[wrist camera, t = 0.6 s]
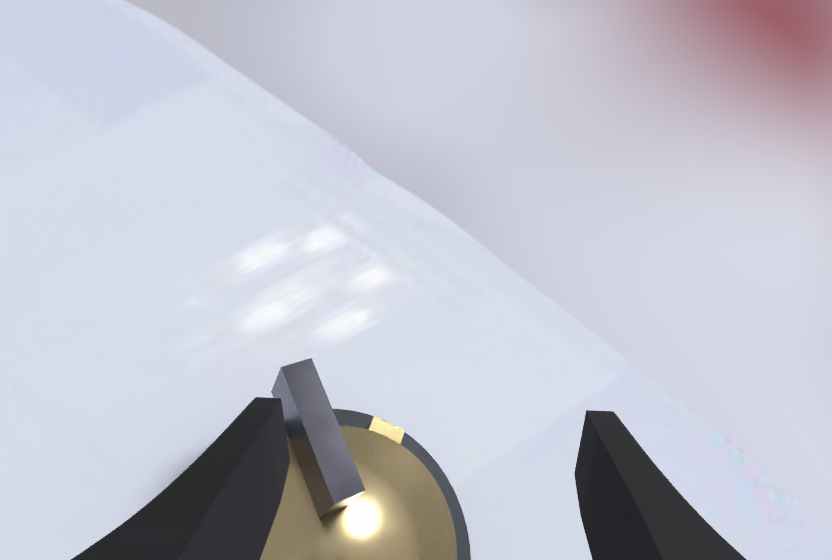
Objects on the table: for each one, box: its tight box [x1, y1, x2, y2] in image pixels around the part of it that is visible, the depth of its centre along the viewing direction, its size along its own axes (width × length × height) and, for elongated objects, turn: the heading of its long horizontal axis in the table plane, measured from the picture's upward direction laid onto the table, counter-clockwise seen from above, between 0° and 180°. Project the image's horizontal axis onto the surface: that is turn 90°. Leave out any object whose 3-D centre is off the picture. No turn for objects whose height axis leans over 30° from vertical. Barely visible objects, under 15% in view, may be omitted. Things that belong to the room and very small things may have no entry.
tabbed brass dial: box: [260, 358, 457, 560], centre depth 26 cm, size 12×12×4 cm
